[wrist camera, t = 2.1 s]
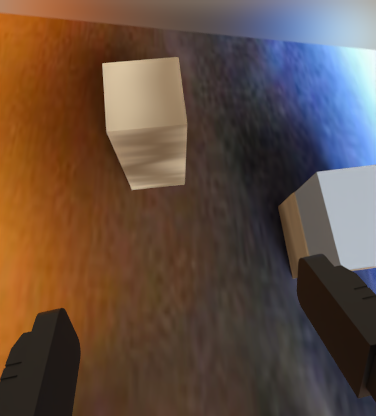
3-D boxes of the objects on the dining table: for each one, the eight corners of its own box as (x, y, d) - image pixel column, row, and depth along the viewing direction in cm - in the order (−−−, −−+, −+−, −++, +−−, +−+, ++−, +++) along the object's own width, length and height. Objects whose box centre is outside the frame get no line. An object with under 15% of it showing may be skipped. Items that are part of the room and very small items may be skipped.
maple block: (132, 189, 28) (106, 131, 18) (128, 142, 29) (102, 63, 19) (184, 184, 28) (187, 124, 18) (178, 137, 29) (178, 56, 19)
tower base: (292, 278, 26) (311, 275, 22) (277, 207, 28) (293, 192, 24) (364, 269, 26) (395, 264, 23) (345, 199, 28) (372, 183, 24)
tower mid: (313, 275, 22) (342, 270, 18) (294, 192, 24) (316, 171, 20) (397, 263, 23) (442, 256, 19) (372, 182, 24) (409, 160, 20)
